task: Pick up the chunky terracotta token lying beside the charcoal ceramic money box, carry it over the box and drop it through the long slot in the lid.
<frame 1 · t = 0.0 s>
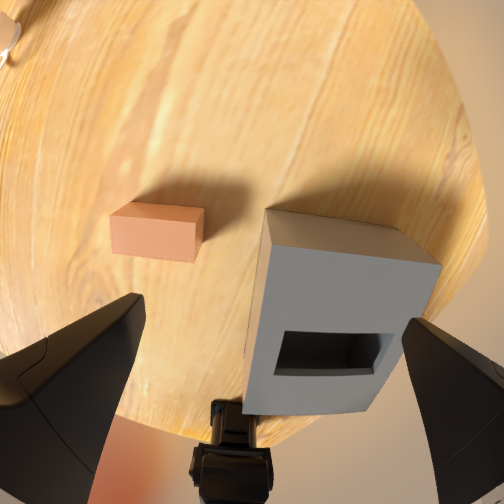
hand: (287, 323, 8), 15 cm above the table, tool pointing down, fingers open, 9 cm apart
cup: (8, 50, 14), on the table
terracotta token: (165, 221, 22), on the table
money box: (316, 300, 25), on the table
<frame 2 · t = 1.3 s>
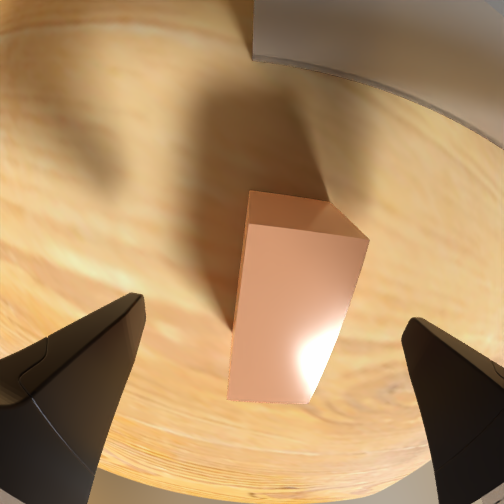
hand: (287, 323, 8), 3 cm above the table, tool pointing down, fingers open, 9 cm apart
terracotta token: (276, 273, 11), on the table
money box: (444, 7, 6), on the table
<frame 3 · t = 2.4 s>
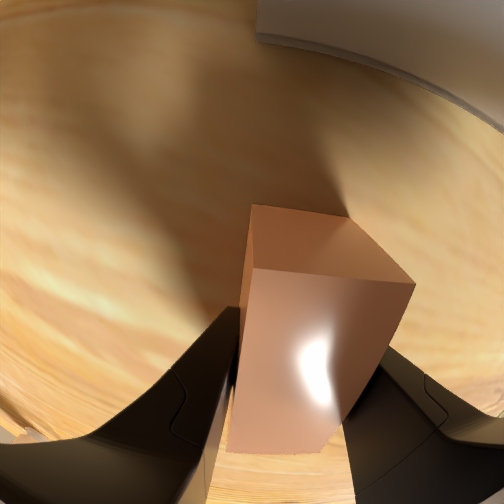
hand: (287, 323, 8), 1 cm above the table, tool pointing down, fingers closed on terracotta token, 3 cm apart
cup: (52, 441, 17), on the table
terracotta token: (284, 304, 9), on the table, touching gripper
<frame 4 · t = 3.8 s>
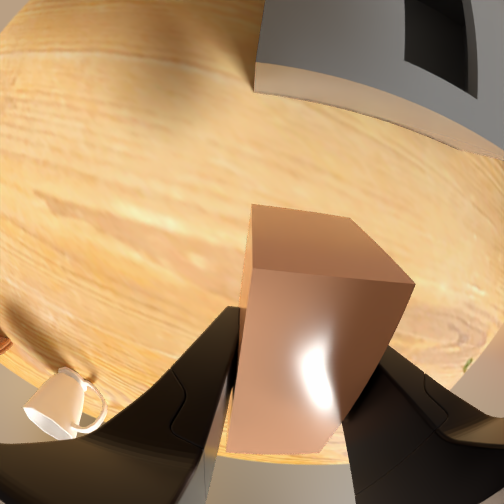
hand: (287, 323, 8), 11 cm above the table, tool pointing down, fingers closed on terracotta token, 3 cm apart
cup: (82, 379, 26), on the table
terracotta token: (283, 304, 9), point 10 cm above the table, touching gripper
money box: (381, 41, 13), on the table
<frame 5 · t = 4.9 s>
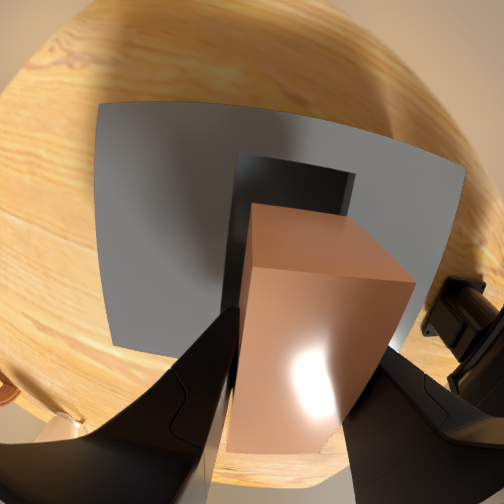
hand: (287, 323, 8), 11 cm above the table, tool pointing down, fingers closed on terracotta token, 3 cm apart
cup: (75, 420, 31), on the table
terracotta token: (283, 303, 9), point 10 cm above the table, touching gripper
money box: (268, 215, 18), on the table
when the fingers open (9 cm above the table, at t = 5.5 s): terracotta token drops 6 cm and tips over, resting on money box.
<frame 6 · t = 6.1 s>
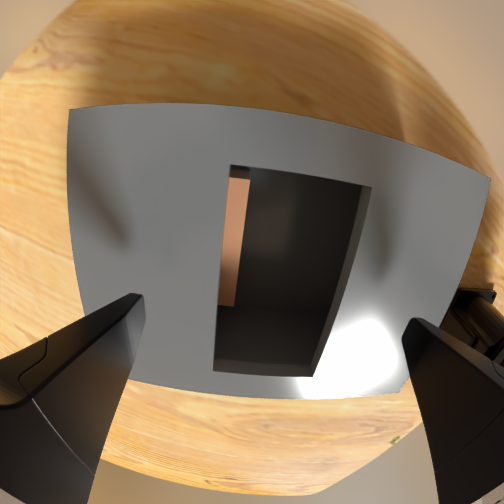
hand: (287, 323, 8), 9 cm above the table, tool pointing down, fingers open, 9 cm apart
terracotta token: (241, 237, 14), point 2 cm above the table, tilted 90°, touching money box
money box: (269, 227, 17), on the table
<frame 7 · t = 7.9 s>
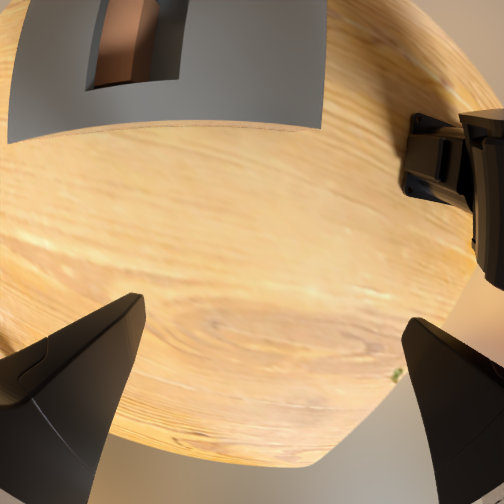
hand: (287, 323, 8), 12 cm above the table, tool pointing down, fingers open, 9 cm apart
terracotta token: (146, 38, 12), point 2 cm above the table, tilted 90°, touching money box
money box: (178, 45, 14), on the table
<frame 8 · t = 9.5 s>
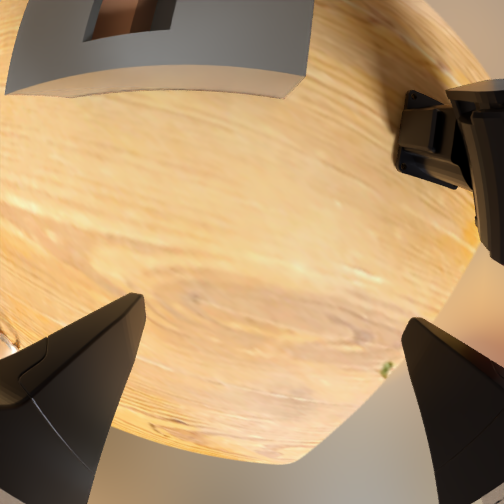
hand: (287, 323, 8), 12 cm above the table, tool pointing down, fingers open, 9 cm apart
cup: (13, 345, 27), on the table
terracotta token: (147, 6, 11), point 2 cm above the table, tilted 90°, touching money box
money box: (178, 16, 13), on the table
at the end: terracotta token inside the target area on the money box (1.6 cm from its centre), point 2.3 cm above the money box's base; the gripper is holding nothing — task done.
